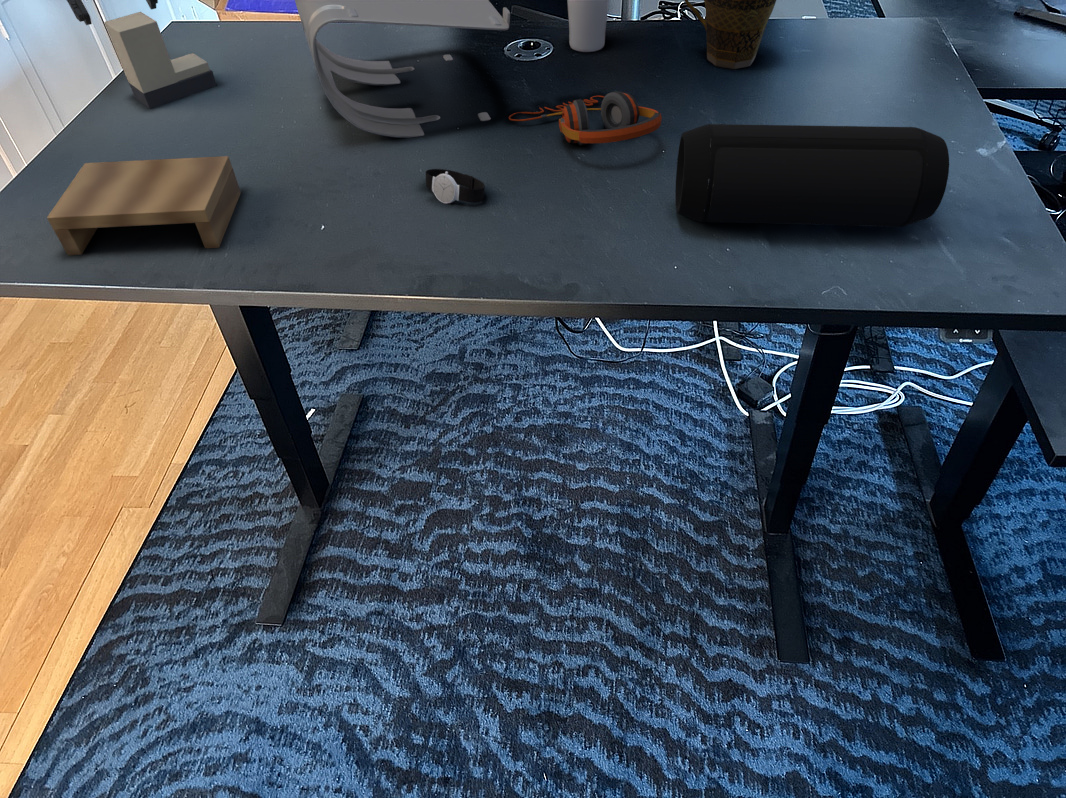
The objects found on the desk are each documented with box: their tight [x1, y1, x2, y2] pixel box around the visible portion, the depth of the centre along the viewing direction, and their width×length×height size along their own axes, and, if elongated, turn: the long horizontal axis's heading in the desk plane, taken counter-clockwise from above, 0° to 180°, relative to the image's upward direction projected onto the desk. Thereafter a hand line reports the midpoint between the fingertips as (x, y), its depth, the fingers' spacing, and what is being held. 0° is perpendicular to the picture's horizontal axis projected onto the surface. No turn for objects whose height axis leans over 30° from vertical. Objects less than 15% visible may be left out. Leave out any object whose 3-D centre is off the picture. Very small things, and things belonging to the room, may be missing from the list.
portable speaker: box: [674, 123, 950, 228], centre depth 80 cm, size 26×10×10 cm, turn 85°
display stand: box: [46, 155, 242, 256], centre depth 84 cm, size 16×11×5 cm
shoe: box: [103, 11, 218, 110], centre depth 105 cm, size 10×5×10 cm, turn 133°
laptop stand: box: [294, 0, 511, 139], centre depth 101 cm, size 26×24×16 cm
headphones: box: [508, 90, 663, 147], centre depth 96 cm, size 17×5×20 cm
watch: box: [425, 168, 486, 204], centre depth 87 cm, size 8×5×4 cm, turn 56°
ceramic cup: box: [684, 0, 777, 70], centre depth 109 cm, size 13×10×10 cm
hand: (121, 13), depth 102 cm, fingers open, 8 cm apart
